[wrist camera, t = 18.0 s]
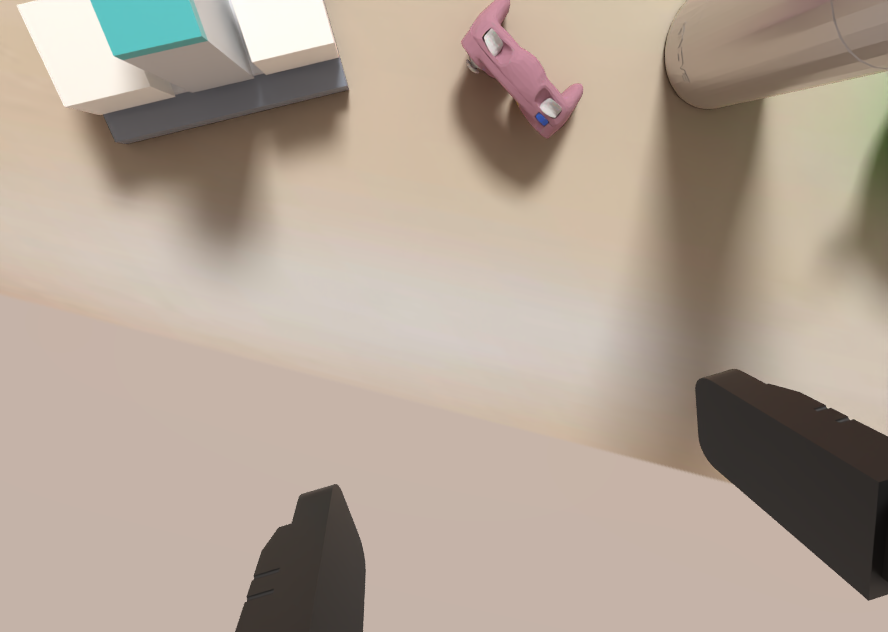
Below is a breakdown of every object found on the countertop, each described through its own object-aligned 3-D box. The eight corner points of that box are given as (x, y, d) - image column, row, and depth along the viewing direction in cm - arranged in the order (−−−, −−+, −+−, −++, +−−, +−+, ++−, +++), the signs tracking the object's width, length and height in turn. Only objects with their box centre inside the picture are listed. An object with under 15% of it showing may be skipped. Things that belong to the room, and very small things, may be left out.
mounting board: (310, -49, 31) (295, -96, 26) (349, 89, 34) (342, 72, 29) (66, 6, 30) (-1, -31, 25) (126, 143, 33) (78, 136, 28)
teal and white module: (224, -12, 29) (154, -98, 20) (254, 78, 31) (202, 36, 22) (158, 2, 29) (57, -78, 20) (192, 92, 31) (113, 55, 22)
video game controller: (460, 41, 35) (445, 52, 30) (502, -12, 33) (493, -11, 27) (543, 132, 38) (543, 157, 33) (587, 90, 36) (594, 109, 30)
